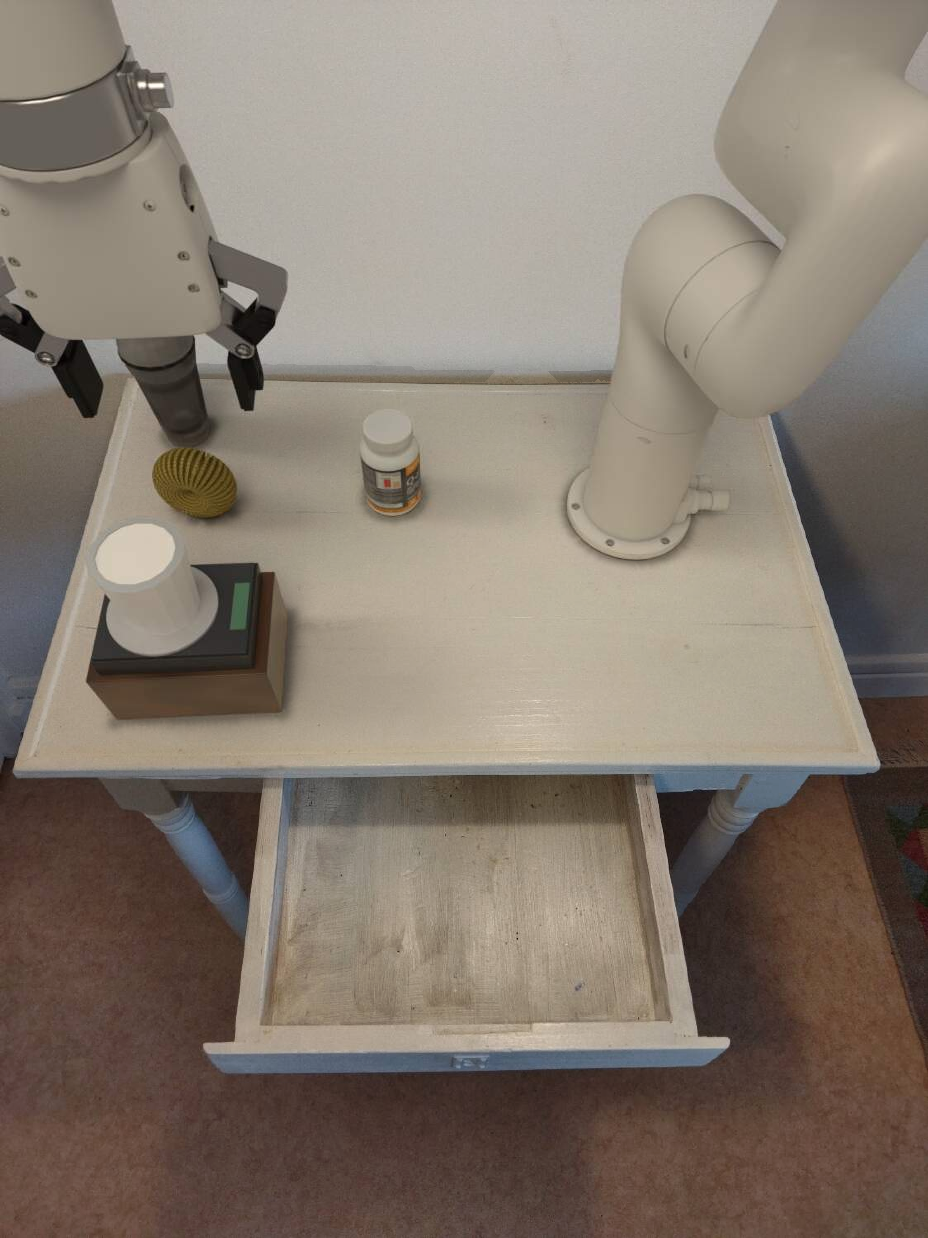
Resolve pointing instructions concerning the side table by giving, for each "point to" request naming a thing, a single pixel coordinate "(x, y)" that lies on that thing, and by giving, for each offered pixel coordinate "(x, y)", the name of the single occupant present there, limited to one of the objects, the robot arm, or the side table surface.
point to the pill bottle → (390, 462)
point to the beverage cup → (169, 384)
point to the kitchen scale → (189, 629)
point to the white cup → (145, 574)
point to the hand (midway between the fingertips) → (172, 398)
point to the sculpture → (194, 482)
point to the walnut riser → (208, 677)
